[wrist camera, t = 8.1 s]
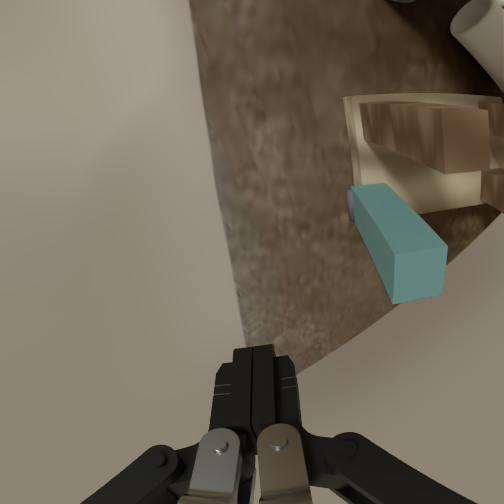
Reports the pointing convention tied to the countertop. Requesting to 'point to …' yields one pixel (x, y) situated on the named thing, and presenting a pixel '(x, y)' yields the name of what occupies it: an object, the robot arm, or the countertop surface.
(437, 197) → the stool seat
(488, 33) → the mug
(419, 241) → the folding leg
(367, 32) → the countertop surface
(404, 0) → the thermos bottle
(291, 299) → the countertop surface
